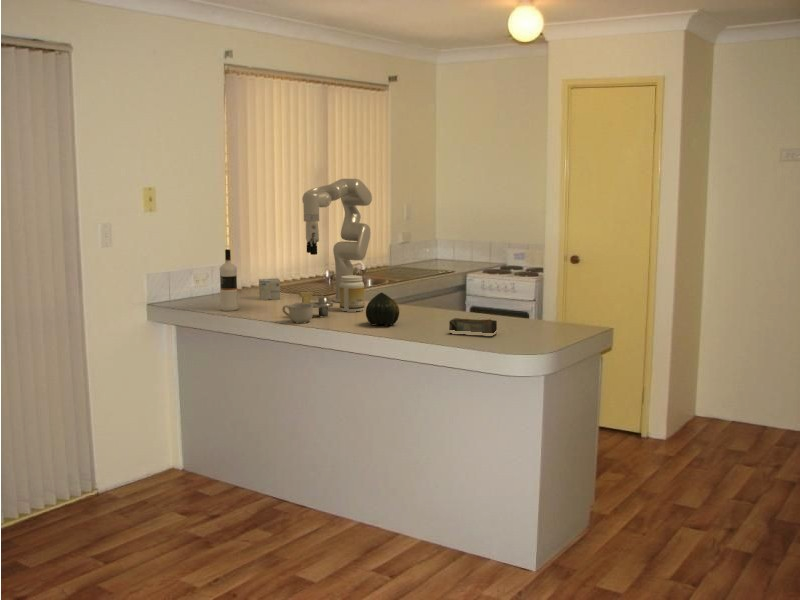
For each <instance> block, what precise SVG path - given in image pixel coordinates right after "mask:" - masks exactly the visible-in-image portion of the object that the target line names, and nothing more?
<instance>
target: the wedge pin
mask: <svg viewBox="0 0 800 600" xmlns="http://www.w3.org/2000/svg"><path fill="white" fill-rule="evenodd" d="M299 297H301V303H308V304H310V302H311V297H313V292H312V291H305V292H302V291H301V292H299Z"/></svg>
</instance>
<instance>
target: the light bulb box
mask: <svg viewBox="0 0 800 600" xmlns="http://www.w3.org/2000/svg"><path fill="white" fill-rule="evenodd" d="M258 289H259V292H258V293H259V300H260V299H261V300H260V301H269V300H268V299H276V300H281V280H280V279H279V278H277V277H276V278H258Z"/></svg>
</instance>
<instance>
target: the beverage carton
mask: <svg viewBox="0 0 800 600" xmlns="http://www.w3.org/2000/svg"><path fill="white" fill-rule="evenodd" d="M497 322H498V321H497V320H494V319H493V320H492V319H490V318H489V319H475V318H474V319H470V318H459V317H458V318H457V317H454V318H452V319H450V320H449V322H448V323H449V324H448V326H449V328H448V330H455V331H471V332H482V333H494V332H495V331H496V330H498V329H497V326H498V325H497Z"/></svg>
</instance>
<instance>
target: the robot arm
mask: <svg viewBox="0 0 800 600" xmlns="http://www.w3.org/2000/svg"><path fill="white" fill-rule="evenodd" d="M301 199H302V204H303V222H305V240H306V253H307V254H309V253H310V255H312V256H315V255H318V242H319V241H320V234H319V232H320V229H319V222H320V208H327V207H329V206H330V205H331V203H332V202H334V201H337V200H340V201H341V204H342V207H343V210H344V218H343V222H342V225H341V230H340V237H341V239H342V240H343V241H341V240H340V241H337V242H336V243H335V244H334V245H333V249H332V250H333V257H334V264H335V265H334V266H335V269H334V270H335V271H334V273H335V274H334V275H335V277H334V279H335V280H334V281H335V297H334V298H332V302H335V303H339V304H340V283H341V282H342V280H341V277H342V276H349V275H354V266H353V263H352V262H351V261H363V259H365V258H366V255H367V251H368V247H369V242H370V239H371V227H370V226H369V225H368V224H367V223H364V222H361V213H360V211H359V209H358V208H357V206H358V207H359V206H360V207H361V206H362V207H367V206H369V205H371V203H372V201H373V196H372V192H371V191H370V189H369V188H368V187H367V185H365V183H363V181H361V180H360V179H358V178H340V179H338V180H335V181H334V182H332V183H330V184H326V185H321V186H317V187H313V188H310V189H308V190H307V191H305V192H304V194H303V195H302V198H301Z"/></svg>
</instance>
